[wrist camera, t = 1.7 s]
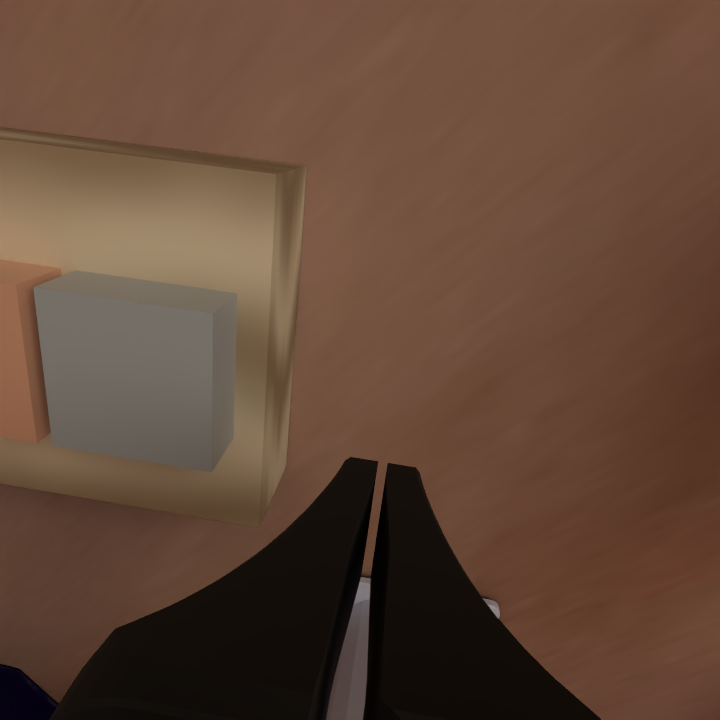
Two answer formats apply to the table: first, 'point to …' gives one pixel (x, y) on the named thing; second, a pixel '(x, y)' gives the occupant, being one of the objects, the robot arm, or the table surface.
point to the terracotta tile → (22, 353)
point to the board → (174, 266)
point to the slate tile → (138, 368)
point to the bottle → (23, 697)
